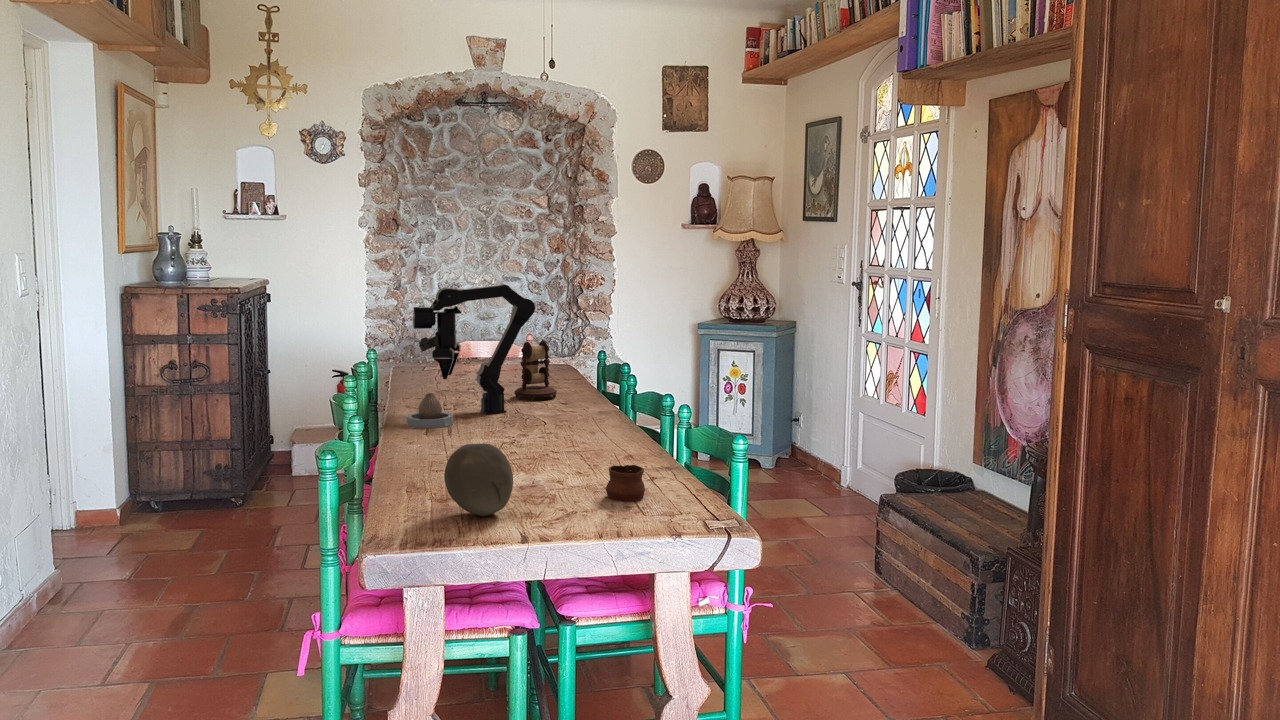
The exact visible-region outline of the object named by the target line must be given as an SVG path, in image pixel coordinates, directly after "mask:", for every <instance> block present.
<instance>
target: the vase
mask: <svg viewBox="0 0 1280 720" xmlns="http://www.w3.org/2000/svg"><path fill="white" fill-rule="evenodd" d="M424 395H425V396H424V398H423V399H421V401H420V403H419V405H418V413H419V417H420V419H439V418H441V414H442V412H443V408H442V404H441V402H440V400H438V398H437V397H436V396H435V394H434V393H432V392H430V393H429V392H428V393H425V394H424Z"/></svg>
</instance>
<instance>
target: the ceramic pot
mask: <svg viewBox="0 0 1280 720" xmlns="http://www.w3.org/2000/svg"><path fill="white" fill-rule="evenodd" d="M644 472H645V468H643V467H641V466H640V465H637V464H625V465H616V464H615V465H614V464H613V465H611V466H609V467H608V474H609V480H608V482H607V483H606V487H605V492H606V495H607V498H608V499H609V500H612V501H615V502H621V503H622V502H625V503H627V502H628V503H633V502H639V501H642V500H643V499H644V496H645V491H646V487H645V483H644V481H643V475H644Z"/></svg>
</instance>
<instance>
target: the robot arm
mask: <svg viewBox="0 0 1280 720" xmlns="http://www.w3.org/2000/svg"><path fill="white" fill-rule="evenodd" d="M494 298H496V299H497V298H503V299H504V300H505V301H507V302H508V304H510V305H511V306H512V309H511V314H510V318H509V322H508V323H507V326H506V328H505V330H504V332H503V334H502V336H501V338H500V340H499V342H498V344H497V346H496V348H495V349H494V352H493V353H492V355H491V356H490V359H489V360H488V362H486V363H484V362H481V364H480V367H479V369H478V371H476V373H475V374H476V382H477V385H478V386H480V387H481V388H482V390H483V393H482V398H481V399H480V400H481V401H480V407H481V408H480V412H482V413H485V414H488V415H493V414H494V415H495V414H503V413H504V414H505V413H507V410H505V393H504V392H505V387H503V385H501V384H500V383H499V379H500V377H501V372H502V366H503V364H504V362H505V360H506V358H507V356H508V354H509V352H510V350H511V348H512V347H513V344H514V343H515V341H516V339H517V337H518V335H519V333H520V331H521V329H522V327H524V326H525V325H526V323H527V322H528V321H529V320H530V318H531V317H532V316H533V315H534V313H535V311H536V304H535V303H534V302H533V300H531V299H530V298H526V297H524V296H521V295H520V293H517V292H516V291H515V290H513V289H512V288H511V287H510V286H509V285H508V284H505V283H501V284H499V285H491V286H489V285H488V286H481V287H472V288H455V287H454V288H453V287H452V288H451V287H442V288H440V289H438V290H437V292H436V294H435V300H434V301H433V302H432V304H431V305H430V306H429V307H420V306H414V307H413V312H412V328H413V329H414V330H417V329H418V330H420V329H421V330H422V329H423V330H424V329H428V330H429V329H432V328H433V327H434V326H435V325H436V326H437V327H436V332H435V334H434V336H431V337H429V338H428V337H427V336H425V337H422V338H421V339H420V341H419V342H418V347H419V348H420V350H421V352H422V353H423V352H426V351H427V350H429V349H433V348H434V349H433V350H432V354H431V355H432V358H433V360H434V361H436V362H437V363H438V364H439V368H440V372H441V376H442V379H443V380H447V379H448V377H449V376H452V374H453V371H454V369H455V366H456V364H457V361H458V358H459V356H460V353H461V351H462V350H461V349H462V348H461V347H462V346H461V344H460V343H459V342H457V341H456V340H457V339H456V338H457V337H456V336H457V334H458V331H457V329H456V326H457V325H456V324H457V323H456V315H458V314H459V315H461V314H462V310H460V309H459V308H458V306H457V305H461V304H463V303H467V302H470V301H471V302H472V301H479V300H487V299H494ZM450 307H453V308H450ZM441 310H443V311H441Z"/></svg>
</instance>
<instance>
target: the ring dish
mask: <svg viewBox="0 0 1280 720" xmlns="http://www.w3.org/2000/svg"><path fill="white" fill-rule="evenodd" d="M407 425H408V426H407ZM452 425H454V414H452V413H449V412H445V411H444V412H443V411H442V414H441V418H439V419H420V417H419V412H414V413H411V414H410V413H409V414H408V415H407V416H406V426H407V427H410V428H413V427H414V428H415V429H437V428H438V429H439V428H446V427H450V426H452Z"/></svg>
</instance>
